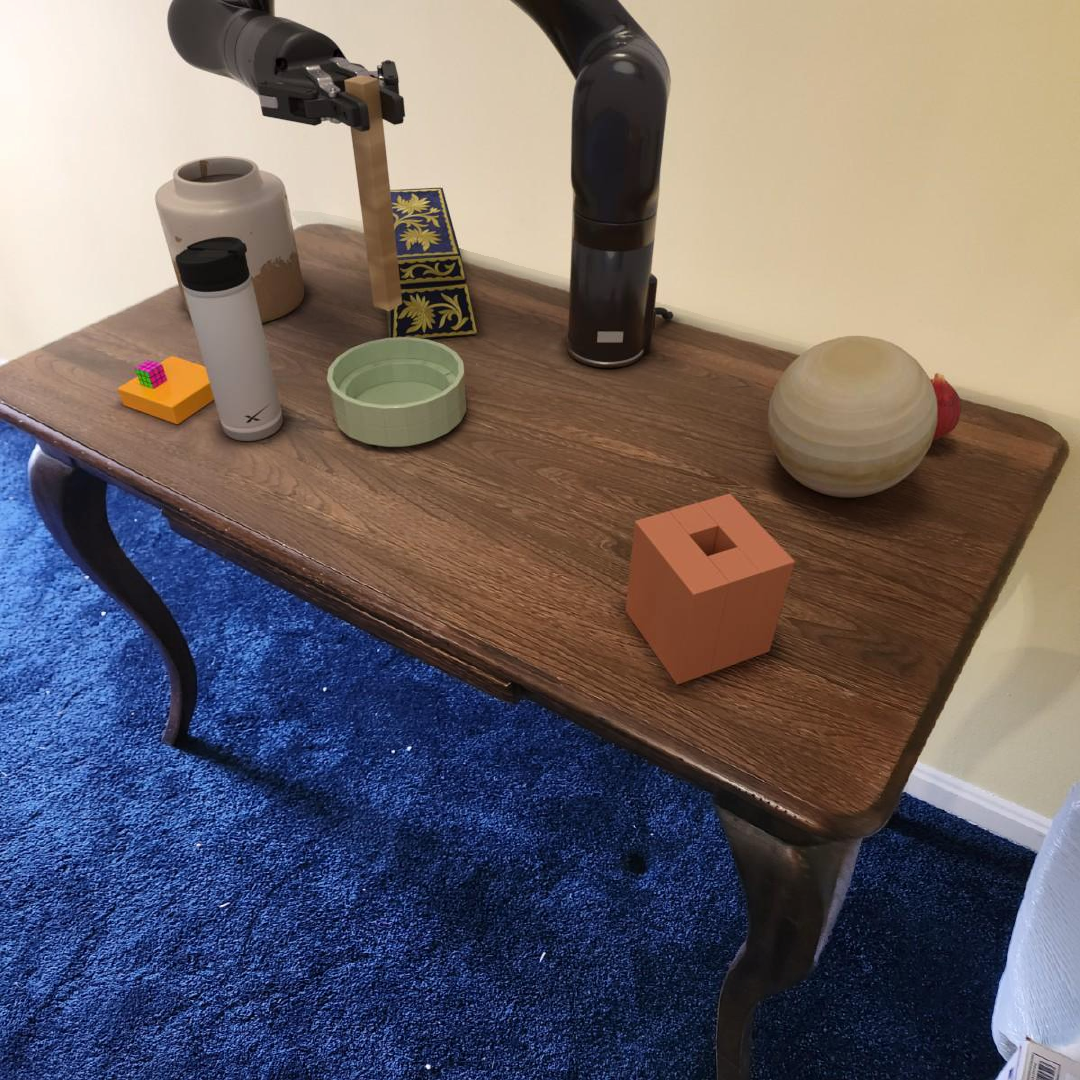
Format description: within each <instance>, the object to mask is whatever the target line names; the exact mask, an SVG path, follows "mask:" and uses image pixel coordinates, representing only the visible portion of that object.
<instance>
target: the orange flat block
mask: <svg viewBox="0 0 1080 1080" xmlns="http://www.w3.org/2000/svg"><path fill="white" fill-rule="evenodd" d="M134 370H135V373H136V376H135V377H133V378H131V380H129V381H128V382H125V383H124V384H122V385H121V386H119V387H118V388H117V390H118V394H119V396H120V400H121V402H122V405H123V406H124V407H128V408H130V409H133V410H135V411H139V412H142V413H144V414H147V415H149V416H153V417H155V418H158V419H161V420H164V421H167V422H170V423H172V424H175V425H179V424H180V423H182V422H184V421H185V420H187V419H188V418H189V417H191V416H192V415H193V414H195V413H197V412H198V411H200V410H201V409H203V408H204V407H205V406H207V405H209V404H210V403H212V401H215V400H214V396H213V392H212V389H211V385H210V382H209V378H208V375H207V371H206V368H205V365H203V364H199V363H196V362H192V361H189V360H186V359H184V358H180V357H177V356H174V355H170V356H168V357H167V358H165V359H163V360H162V361H161V362H157V361H153V360H151V359H148V360H146V361H144V362H143V363H141V364H139V365H138V366H136V367H134Z"/></svg>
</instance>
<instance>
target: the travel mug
mask: <svg viewBox="0 0 1080 1080" xmlns="http://www.w3.org/2000/svg"><path fill="white" fill-rule="evenodd" d="M246 252H247V248H246V244H245V243H243V242H242V241H241V240H240V239H238V238H235V237H216V238H210V239H205V240H202V241H198V242H196V243H193V244H191V245H189V246H187V249H186V250H184V251H182V252H181V253H180V254H178V255H176V258H175V260H176V263H177V267H178V270H179V273H180V278H181V283H182V287H183V289H184V294H185V297H186V301H187V304H188V308H189V312H190V314H189V315H190V318H191V322H192V326H193V329H194V332H195V336H196V339H197V343H198V346H199V347H198V348H199V351H200V354H201V357H202V361H203V364H204V366H205V368H206V371H207V375H208V378H209V382H210V385H211V389H212V392H213V396H214V400H213V401H214V403H215V406H216V410H217V413H218V416H219V420H220V423H221V424H220V425H221V427H222V431H223V434H225V435H226V436H227V437H229V438H231V439H233V440H236V441H243V442H250V441H251V442H253V441H260V440H264V439H266V438H268V437H270V436H273V435H274V434H275V433H277V432H278V431H279V430H280V429H281V428H282V425H283V423H284V417H283V411H282V408H281V403H280V398H279V395H278V390H277V386H276V380H275V377H274V371H273V368H272V364H271V363H272V362H271V359H270V354H269V350H268V346H267V341H266V337H265V332H264V327H263V323H261V318H260V314H259V310H258V305H257V301H256V296H255V292H254V287H253V283H252V280H251V274H250V271H249V268H248V266H247V259H246V255H245V253H246Z"/></svg>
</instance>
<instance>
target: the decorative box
mask: <svg viewBox="0 0 1080 1080" xmlns="http://www.w3.org/2000/svg"><path fill="white" fill-rule="evenodd" d="M390 193H391V202H392V212H393V221H394V231H395V240H396V250H397V259H398V269H399V278H400V287H401V297H402V304H401V305H399V306H397V307H396V308H394V309H392V310H391V311H386V315H387V324H388V333H389V338H396V337H412V338H420V339H428V340H432V339H444V338H455V337H457V338H458V337H465V336H466V337H467V336H477V335H478V332H477V328H476V322H475V318H474V312H473V307H472V302H471V298H470V291H469V287H468V282H467V278H466V273H465V269H464V263H463V259H462V254H461V251H460V246H459V243H458V242H459V241H458V239H457V235H456V231H455V228H454V224H453V221H452V217H451V214H450V213H451V212H450V210H449V206H448V203H447V199H446V196H445V191H444V187H442V188H441V187H424V188H404V189H403V188H402V189H401V188H400V189H390Z"/></svg>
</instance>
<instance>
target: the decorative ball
mask: <svg viewBox="0 0 1080 1080" xmlns="http://www.w3.org/2000/svg"><path fill="white" fill-rule="evenodd" d="M930 380H931V378H930V376H929V375H928V374H927V372H926V370H925V369H924V368H923V366H922V365H921V364H920V363H919V361H918V360H917V359H916V358H915V357H914V356H912V355H911V354H910V353H909V352H907V351H906V350H904V348H902V347H901V346H899V345H897V344H895V343H893V342H890V341H888V340H884V339H882V338H877V337H873V336H868V335H847V336H839V337H836V338H832V339H828V340H825V341H822V342H820V343H818V344H815V345H813V346H812V347H810V348H809V349H807V350H806V351H804V352H803V353H802V354H800V355H799V356H797V357H796V358H795V359H794V360H793V361H792V362H791V363H790V364H788V366H787V367H786V369H784V371H783V373H782V374H781V376H779V378H778V380H777V381H776V384H775V386H774V389H773V391H772V394H771V397H770V399H769V402H768V411H767V422H766V425H767V430H768V431H767V432H768V435H769V442H770V446H771V448H772V449H773V452H774V454H775V456H776V457H777V460H778V461H779V463H780V465H781V466H782V467H783V468H784V469H785V471H786V472H787V473H788V474H789V475H790V476H791V477H792V478H793V479H794V480H796V481H797V482H798V483H800V484H801V485H802V486H804V487H807V488H808V489H810V490H813V491H815V492H817V493H820V494H822V495H827V496H830V497H837V498H850V499H851V498H861V497H866V496H870V495H875V494H877V493H881V492H883V491H885V490H887V489H890V488H892V487H894V486H896V485H897V484H899V483H900V482H901V481H903V480H904V479H906V478H907V477H908V476H909V475H910V474H911V473H913V471H914V470H915V469H916V468H917V467H918V466H919V465H920V463H921V462H922V461H923V459H924V457H925V456H926V454H927V453H928V451H929V449H930V448H931V446H932V443H933V441H934V440H933V437H934V433H935V429H936V425H937V399H936V395H935V392H934V388H933V386H932V383H931V381H930Z"/></svg>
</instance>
